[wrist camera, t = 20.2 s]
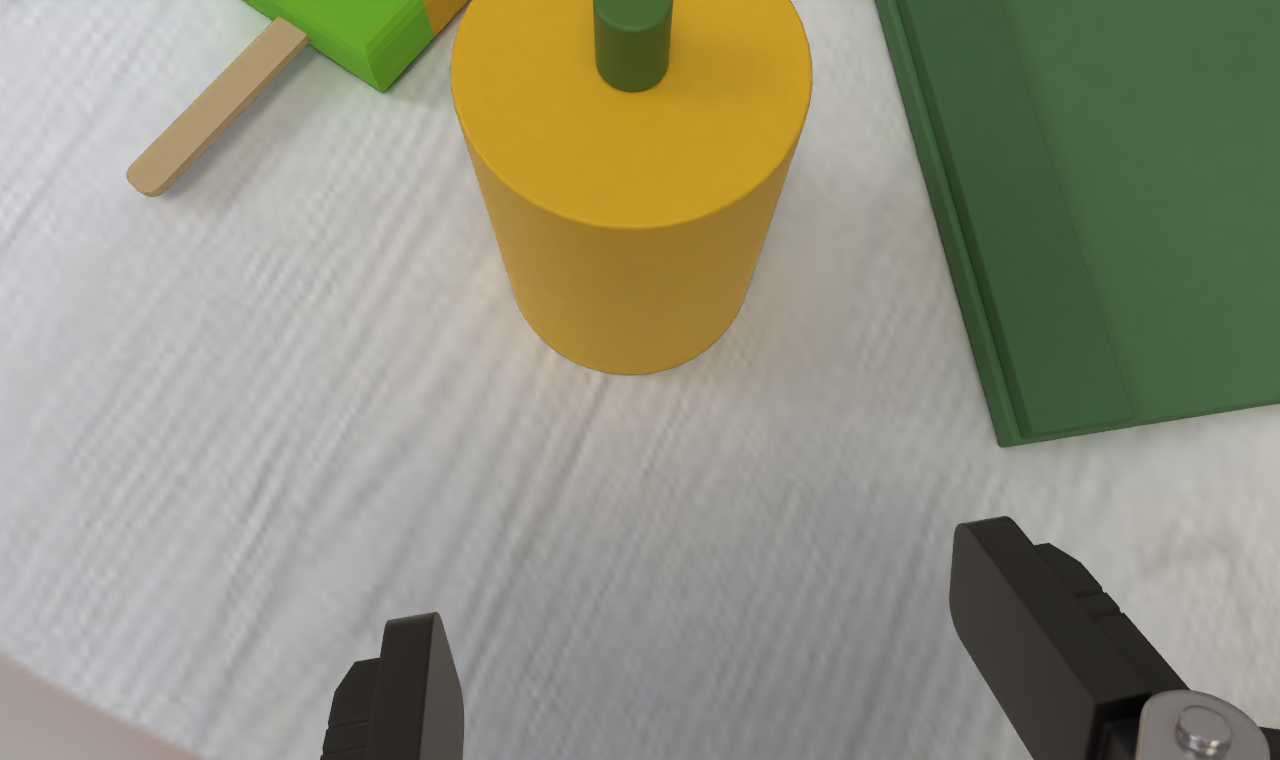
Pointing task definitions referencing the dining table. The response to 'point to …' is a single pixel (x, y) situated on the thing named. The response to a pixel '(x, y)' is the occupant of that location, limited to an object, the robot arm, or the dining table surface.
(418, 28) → the popsicle
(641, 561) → the dining table surface
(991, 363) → the green notebook
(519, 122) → the yellow cylinder with peg
